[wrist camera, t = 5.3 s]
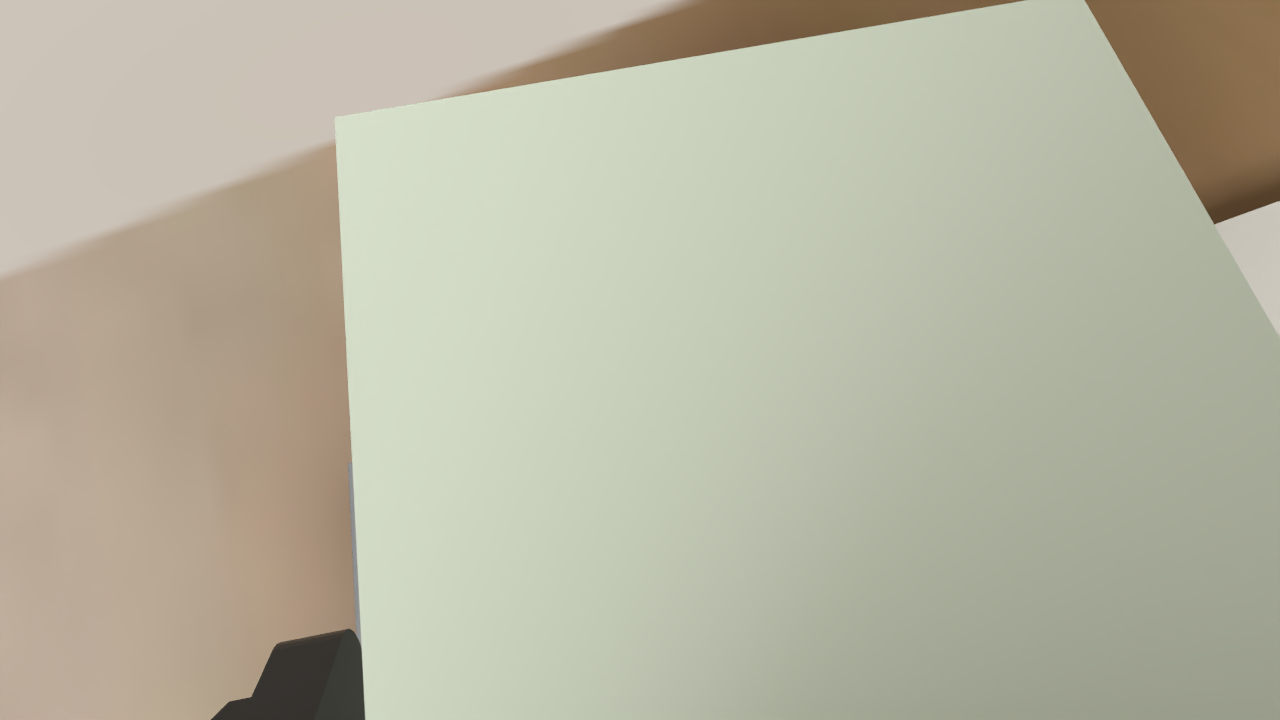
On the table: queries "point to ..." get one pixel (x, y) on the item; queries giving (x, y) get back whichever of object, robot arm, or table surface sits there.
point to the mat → (1258, 254)
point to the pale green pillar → (808, 393)
